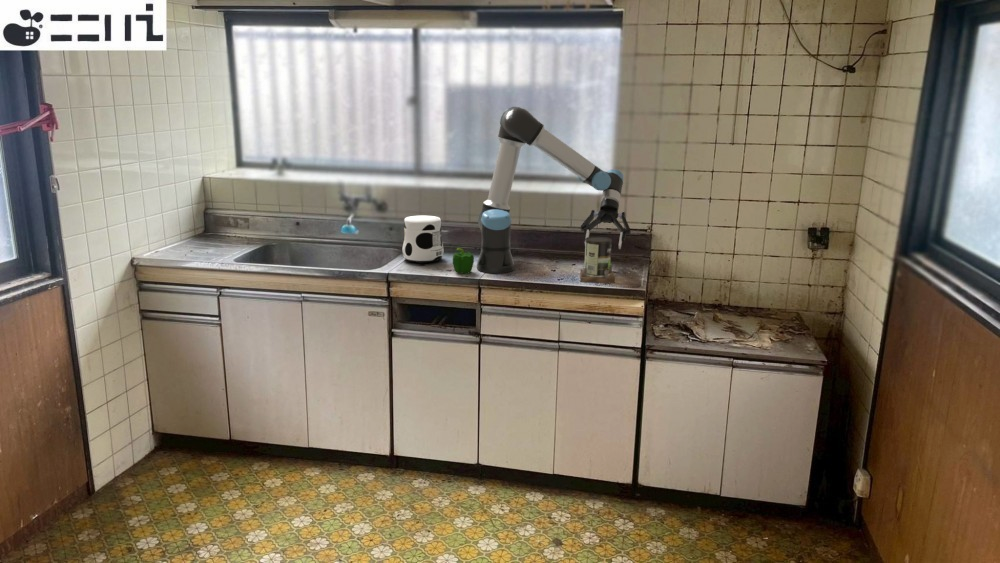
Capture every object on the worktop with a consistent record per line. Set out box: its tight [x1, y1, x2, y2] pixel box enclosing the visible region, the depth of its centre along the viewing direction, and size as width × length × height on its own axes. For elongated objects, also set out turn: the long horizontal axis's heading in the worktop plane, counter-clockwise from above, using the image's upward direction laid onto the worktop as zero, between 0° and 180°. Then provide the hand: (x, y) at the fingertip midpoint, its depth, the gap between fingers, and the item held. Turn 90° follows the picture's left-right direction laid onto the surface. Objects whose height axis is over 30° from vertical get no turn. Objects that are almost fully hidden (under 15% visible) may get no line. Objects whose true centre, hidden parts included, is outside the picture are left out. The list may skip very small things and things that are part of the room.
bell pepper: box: [452, 247, 475, 275], centre depth 282 cm, size 8×8×10 cm
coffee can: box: [583, 236, 613, 277], centre depth 277 cm, size 10×10×14 cm
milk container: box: [401, 215, 445, 264], centre depth 300 cm, size 17×17×18 cm
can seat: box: [579, 263, 616, 284], centre depth 278 cm, size 13×13×5 cm
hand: (602, 246), depth 285 cm, fingers open, 13 cm apart
